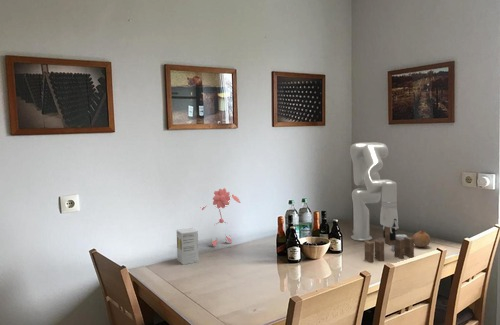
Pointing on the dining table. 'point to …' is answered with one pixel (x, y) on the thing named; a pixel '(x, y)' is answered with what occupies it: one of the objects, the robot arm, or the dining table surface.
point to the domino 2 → (379, 250)
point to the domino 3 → (388, 236)
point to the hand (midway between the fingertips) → (389, 238)
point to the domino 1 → (369, 251)
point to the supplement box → (187, 246)
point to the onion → (421, 239)
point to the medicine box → (399, 237)
